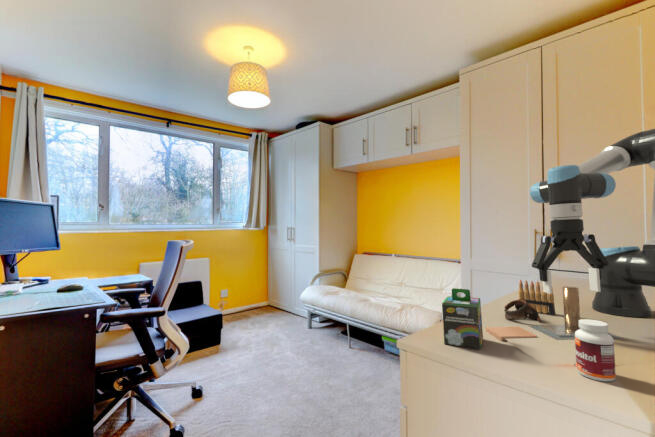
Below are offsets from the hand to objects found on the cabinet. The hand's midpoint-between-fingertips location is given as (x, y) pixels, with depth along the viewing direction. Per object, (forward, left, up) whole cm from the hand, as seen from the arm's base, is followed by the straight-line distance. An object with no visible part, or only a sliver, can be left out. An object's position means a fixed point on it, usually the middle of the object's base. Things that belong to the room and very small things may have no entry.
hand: (571, 291), depth 87 cm
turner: (0, 0, -11) cm, 11 cm away
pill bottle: (+14, +24, -12) cm, 31 cm away
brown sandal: (+7, -13, -13) cm, 19 cm away
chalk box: (+33, +4, -12) cm, 36 cm away
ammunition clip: (-3, -20, -12) cm, 24 cm away
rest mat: (0, 0, -12) cm, 12 cm away
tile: (+13, 0, -12) cm, 18 cm away
